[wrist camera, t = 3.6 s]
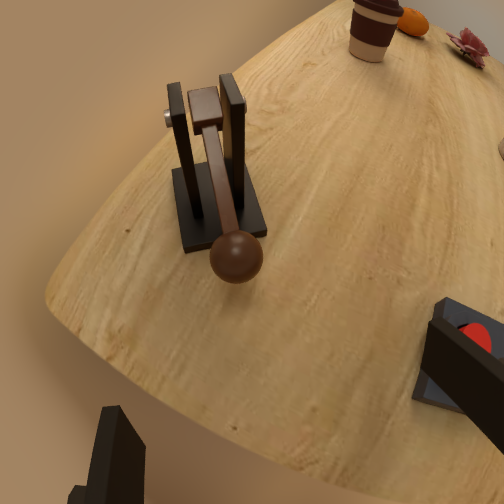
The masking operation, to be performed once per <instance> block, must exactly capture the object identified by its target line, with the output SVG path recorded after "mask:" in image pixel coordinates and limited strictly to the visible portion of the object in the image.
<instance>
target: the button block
mask: <svg viewBox="0 0 504 504" xmlns="http://www.w3.org/2000/svg"><path fill="white" fill-rule="evenodd" d="M440 316H441V317H442V318H444V319H445V320H447V321H448V322H449V323H451V324H452V325H453V326H455V327H456V328H457V329H461V328H463V327H465V326H467V325H469V324H472V323H478V324H481V325H482V326H484V327H485V329H486V330H487V331H488V333H489V336H490V339H491V353H490V354H491V355H493V356H494V357H495V358H497V359H499V358H500V357H502V358H504V324H502V323H500V322H498V321H496V320H494V319H492V318H490V317H488V316H486V315H484V314H482V313H480V312H478V311H475V310H473V309H471V308H469V307H467V306H465V305H463V304H461V303H459V302H456V301H454V300H452V299H450V298H448V297H445V298H444V299H442V300H441V301H439V302H437V303H436V304H435V308H434V314H433V319H436V318H438V317H440ZM433 319H432V320H433ZM412 399H414V400H418V401H421V402H424V403H428V404H431V405H434V406H438V407H441V408H445V409H449V410H452V411H456V412H460V413H463V414H465V413H464V412H463V411H462V410H461V409H460V408H459V407H458V406H457V405H456V404H455V403H454V402H453V401H452V399H451V398H450V397H449V396H448V395H447V394H446V393H445V392H444V391H443V390H442V389H441V388H440V387H439V386H438V385H437V384H436V383H435V382H434V381H433V380H432V379H431V378H430V377H429V376H428V375H427V374H426V373H425V372H424V371H423V370H422V369H420V373H419V376H418V380H417V383H416V386H415V389H414V393H413V396H412Z"/></svg>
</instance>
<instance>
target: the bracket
mask: <svg viewBox="0 0 504 504" xmlns="http://www.w3.org/2000/svg"><path fill="white" fill-rule="evenodd" d="M219 82H220V100H221V106H222V111H223V115H224V120H223V130H222V133H223V148H224V162H225V166H226V171H227V176H228V180H229V185H230V189H231V194H232V198H233V203H234V208H235V212H236V217H237V221H238V226H239V230H241V231H245V232H248V233H250V234H251V235H253V236H254V237H255V238H258V237H263V236H266V235H267V227H266V224H265V221H264V218H263V215H262V212H261V209H260V206H259V203H258V200H257V197H256V194H255V191H254V188H253V185H252V182H251V179H250V176H249V173H248V170H247V167H246V164H245V114H246V112H247V105H246V100H245V97H244V96H242V95H241V93H240V91H239V89H238V86H237V84H236V82H235V80H234V77H233V75H232V74H231V73H230V74H222V75H219ZM167 90H168V99H169V109H167V110H164V116H165V122H166V126H167V128H169V127H173V131H174V136H175V140H176V145H177V149H178V154H179V158H180V163H181V167H180V168H175V169H172V177H173V185H174V192H175V199H176V206H177V213H178V219H179V225H180V232H181V238H182V244H183V249H184V251H185V253H190V252H194V251H199V250H203V249H208V248H211V247H212V245H213V243H214V241H215V240H216V239H217V238H218V237H219V236H220V235H222V234H223V233H222V229H221V224H220V219H219V215H218V210H217V205H216V201H215V196H214V191H213V186H212V182H211V177H210V172H209V167H208V162H203V163H198V164H194V161H193V155H192V149H191V144H190V138H189V132H188V126H187V120H186V114H185V109H184V103H183V98H182V91H181V86H180V82H176V83H171V84H168V85H167Z"/></svg>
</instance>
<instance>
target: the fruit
mask: <svg viewBox="0 0 504 504" xmlns="http://www.w3.org/2000/svg"><path fill="white" fill-rule="evenodd" d="M403 9H404V13H403V16H402V17H399V19H398V21H397V23H398V24H397V27H398V28H399V29H401V30H402V31H404V32H405V33H407V34H409V35H412V36H422V35H424V34H426V33H427V31H428V29H429V24H428V21H427V19H426V18H425V17H424V16H423V15H422V14H421V13H420V12H418V11H415V10H414V9H410V8H406V7H404V8H403Z"/></svg>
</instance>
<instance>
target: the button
mask: <svg viewBox="0 0 504 504" xmlns="http://www.w3.org/2000/svg"><path fill="white" fill-rule="evenodd" d="M459 330H460V331H461V332H463V333H464V334H465V335H467V336H468V337H469V338H471V339H472V340H473V341H475V342H476V343H477V344H479V345H480V346H481V347H482V348H484V349H485V350H486V351H488V352H489V353H491V339H490V336H489V333H488V331H487V330H486V329H485V327H484V326H482V325H481V324H478V323H472V324H469V325H467V326H465V327H463V328H461V329H459Z"/></svg>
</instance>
